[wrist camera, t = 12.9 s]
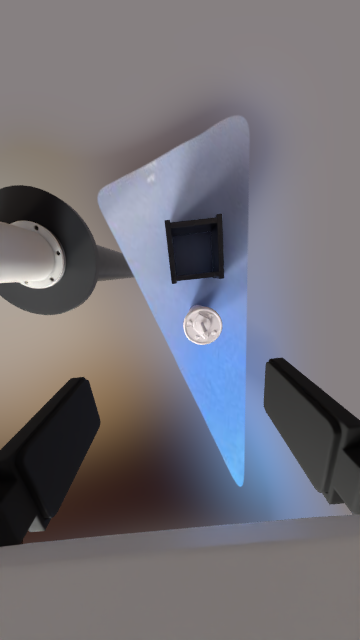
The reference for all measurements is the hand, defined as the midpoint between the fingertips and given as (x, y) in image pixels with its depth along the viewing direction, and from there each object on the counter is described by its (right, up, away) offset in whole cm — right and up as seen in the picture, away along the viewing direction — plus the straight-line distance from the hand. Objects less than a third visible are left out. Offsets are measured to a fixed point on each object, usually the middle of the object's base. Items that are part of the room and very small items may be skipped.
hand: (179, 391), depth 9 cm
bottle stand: (+3, +17, +24) cm, 30 cm away
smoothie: (+4, +5, +28) cm, 29 cm away
